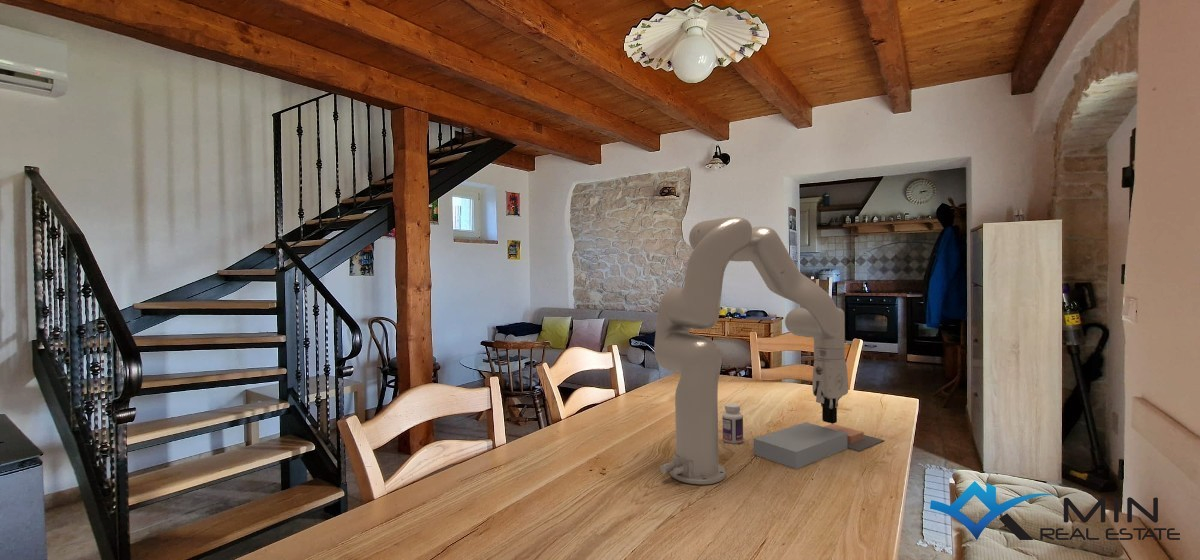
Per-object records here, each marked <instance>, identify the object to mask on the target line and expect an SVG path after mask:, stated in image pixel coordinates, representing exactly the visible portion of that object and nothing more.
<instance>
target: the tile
mask: <svg viewBox="0 0 1200 560" xmlns="http://www.w3.org/2000/svg"><path fill="white" fill-rule="evenodd" d="M822 427H826V428H830V429H833V430H837V431H841V432H845V433H847V443H849V444H852V443H855V442H858V441H861V440H863V439H864V435H865V433H864V431H862V430H857V429H853V428H850V427H847V426H842V425H839V424H836V423H833V424H831V423H829V424H826V425H824V426H822Z"/></svg>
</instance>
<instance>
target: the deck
mask: <svg viewBox="0 0 1200 560" xmlns="http://www.w3.org/2000/svg"><path fill="white" fill-rule="evenodd" d="M845 450H848V449H847V433H845V432H841V431H837V430H833V429H830V428H826V427H823V426H821V425H817V424H815V423H809V422H807V421H806V422H805V421H804V422H801V423H798V424H795V425H791V426H789V427H786V428H782V429H779V430H776V431H773V432H770V433H767V434H763V435H761V436H757V437H754V438H753V455H754V456H758V457H760V458H763V459H766V460H769V461H772V462H774V463H778V464H779V465H782V466H785V467H789V468H791V469H795V470H797V469H800V468H802V467H805V466H808V465H810V464H811V465H812V464H813V463H815V462H817V461H820V460H823V459H825V458H828V457H831V456H833V455H836V454H838V453H841V452H842V451H845Z"/></svg>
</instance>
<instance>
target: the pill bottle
mask: <svg viewBox="0 0 1200 560" xmlns="http://www.w3.org/2000/svg"><path fill="white" fill-rule="evenodd" d="M740 411H741V405H740V404H739V403H734V402H732V403H731V402H729V403H725V404H724V412H722V418H721V419H722V421H721V423H722V440H723V441H724V442H725V443H727V444H741V443H743V442H744V416H743V414H742V412H740Z"/></svg>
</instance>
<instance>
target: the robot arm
mask: <svg viewBox="0 0 1200 560" xmlns="http://www.w3.org/2000/svg"><path fill="white" fill-rule="evenodd" d="M688 235H689V236H688V240H689V241H688V242H689V244H690V247H691V248H692V252H691V254H690V255H689V259H688V261H687V263H686V265H687V266H686V271H685V276H684V283H683V286H676V287H672V288H670V289H669V290H667V291H666V292H665V293H664V295H663V296H662V298H661V299H660V302H659V305H658V307H657V308H658V309H657V315H656V316H657V317H656V324H655V325H656V328H655V336H654V346H653V347H654V348H653V349H654V357H655V359H656V362H657V364H658V366H660V367H661V368H662V369H664V370H667V371H668V372H669V371H670V372H672V373H676V374H679V375H680V378H679V380H678V383H677V386H676V388H675V395H674V407H675V409H674V410H675V414H674V415H675V416H674V417H675V419H674V420H675V454H673V455H672V460H671V461H670V462H667V463H663V464H660V466H659V469H660V472H661V474H664V475H665V474H667V473H669V475H670V476H671V477H672V478H673V479H674V480H677V481H679V482H682V483H685V484H691V485H712V484H717V483H719V482H721V481H722V480H724V479H725V477H726V475H727V474H726V469H725V467H724V466H723V465H722V464H720V463H719V412H718V411H719V406H718V404H719V403H718V401H719V400H718V398H719V397H718V396H719V395H718V393H719V391H718V390H719V378H720V373H721V367H722V363H723V358H722V353H721V349H720V347H719V346H718V344H717V343H716V342H715V341H714V340H712V339H711V338H709V337H706V336H703V335H697V334H694V333H693V334H692V333H690V329H692V330H708V329H709V330H710V329H712V328H714V326H716V324H717V322H718V321H719V317H720V312H721V303H722V302H721V301H722V291H723V284H724V283H723V282H724V275H725V273H726V272H725V271H726V268H727V267H728V265H729V262H751V263H752V264H753V265H754V267H755V269H756V270H757V272H758V274H759V275H760V277H761V279H762V281H763V282H764V284H765V286H766V287H767V289H768V290H769V291H770V292H772V293H774V294H776V295H778V296H779V297H782V298H784V299H787V300H789V301H792V302H793V303H796V304H797V305H799V306H801V307H797V308H793V309H791V310H790V311H789V312H788V313H787V314H786V316H785V317H784V325H785V328H786V329H787V331H788V333H791V334H792V335H794V336H798V337H803V338H812V339H813V359H814V361H813V367H812V368H813V369H812V385H811V387H812V394H813V396H815V402H816V403H819V404H820V406H821V407H822V408H821V407H820V408H821V410H822V411H821V414H822V421H823V422H825V423H828V424H836V423H837V422H838V407H839V401H840V399H841V398H843V397H844V396H846V395H847V394H848V393H849V379H848V378H849V376H848V367H847V362H846V358H845V357H846V353H845V349H846V348H845V341H846V339H845V335H846V333H845V332H846V331H845V321H846V320H845V311H844V310H843V309H842V308H840V307H837V305H836V303H835V301H834V300H833V298H832V297H831V295H830V294H829V293H828V292H827V291H826V290H825V289H824V288H822V287H821V286H819V285H818V284H817V283H815V282H814V281H813V280H812V279H811V278H810V277H808V276H806V275H805V274H803V273H801V271H800V270H799V269H798V267H797V264H796V263H795V262H794V260H793V259H792V257H791V255H790V253H789V252H788V249H787V247H786V246H785V245H784V243H783V241H782V239H781V238H780V236H779V234H778V233H777V232H776V230H775V229H773V228H771V227H768V226H755V227H752V224H751V222H750V221H749V220H748V219H746V218H745V217H740V216H731V217H730V216H729V217H723V218H716V219H710V220H703V221H700V222H697V223H696V224H695V225H694V226H692V228H691V229H690V231H689V234H688Z"/></svg>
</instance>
